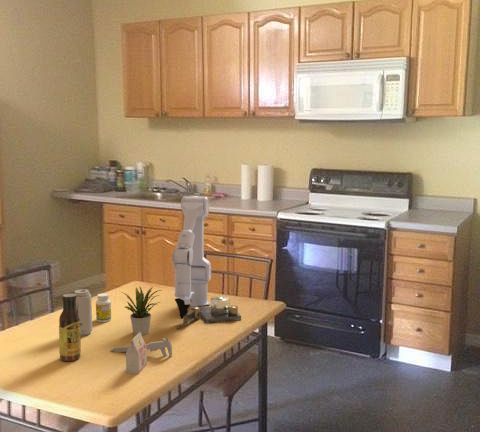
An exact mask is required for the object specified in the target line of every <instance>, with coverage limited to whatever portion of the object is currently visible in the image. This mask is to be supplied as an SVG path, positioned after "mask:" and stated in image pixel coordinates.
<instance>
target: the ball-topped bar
mask: <svg viewBox="0 0 480 432" xmlns="http://www.w3.org/2000/svg"><path fill="white" fill-rule="evenodd" d="M200 308H201V306H192V307H191V306H189V311H188V312H187V313H186V314H185V315H184V316H183V321H182V322H183V325H189V324H190V323H191V322H192V321H197V320H199V319H201V318H200V316H201V315H200Z"/></svg>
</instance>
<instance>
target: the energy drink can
mask: <svg viewBox="0 0 480 432" xmlns="http://www.w3.org/2000/svg"><path fill="white" fill-rule="evenodd" d="M73 294H76V310H77V313H78V316H79V319H80V332H81V337H86V336H89V335H90V334H91V333H92V332H93V314H92V312H93V311H92V294H91V292H90V290H89V289H88V288H80V289H79V288H78V289H76V290H74V293H73Z"/></svg>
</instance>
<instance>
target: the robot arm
mask: <svg viewBox="0 0 480 432" xmlns="http://www.w3.org/2000/svg"><path fill="white" fill-rule="evenodd" d="M180 208H181V211H182V214H183V215H184V220H183V227H182V228H183V230H181V231H180V232H179V234H178V238H177V243H176V246H175V249H174V250H173V251H172V257H171V258H172V265H173V267H172V268H173V270H174V297H175V298H174V301H175V304H176V306H177V308H178V314H179V318H180V319H183V316H184V315H185V314H186V313H187V312H189V311H188V310H189V309H190V307H192V306H198V307H205V306H211V302H210V301H209V300H208V282H210V280H211V279H212V266H211V265H212V264H211V262H210V261H209V260H208V259H206V257H204V256H205V255H204V253H205V252H204V251H205V245H204V244H205V237H204V234H205V230H204V229H205V226H204V225H205V223H204V221H205V218H206V217H208V216H209V213H210V201H209V198H208V197H207V196H186V195H184V196H182V198H181V201H180Z"/></svg>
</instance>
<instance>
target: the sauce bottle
mask: <svg viewBox="0 0 480 432" xmlns="http://www.w3.org/2000/svg"><path fill="white" fill-rule="evenodd" d="M61 300H62V305H63V306H62V311H61V313H60V315H59V318H58V319H59V320H58V322H59V323H58V324H59V325H58V337H59V340H58V342H59V343H58V344H59V345H58V346H59V348H58V349H59V351H58V352H59V359H60V360H61V361H62V362H73V361H77V360H78V359H80V357H81V352H82V349H81V347H82V346H81V345H82V343H81V342H82V341H81V338H82V336H81V332H80V319H79V316H78V313H77V310H76V294H74V293H65V294H62V297H61Z"/></svg>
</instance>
